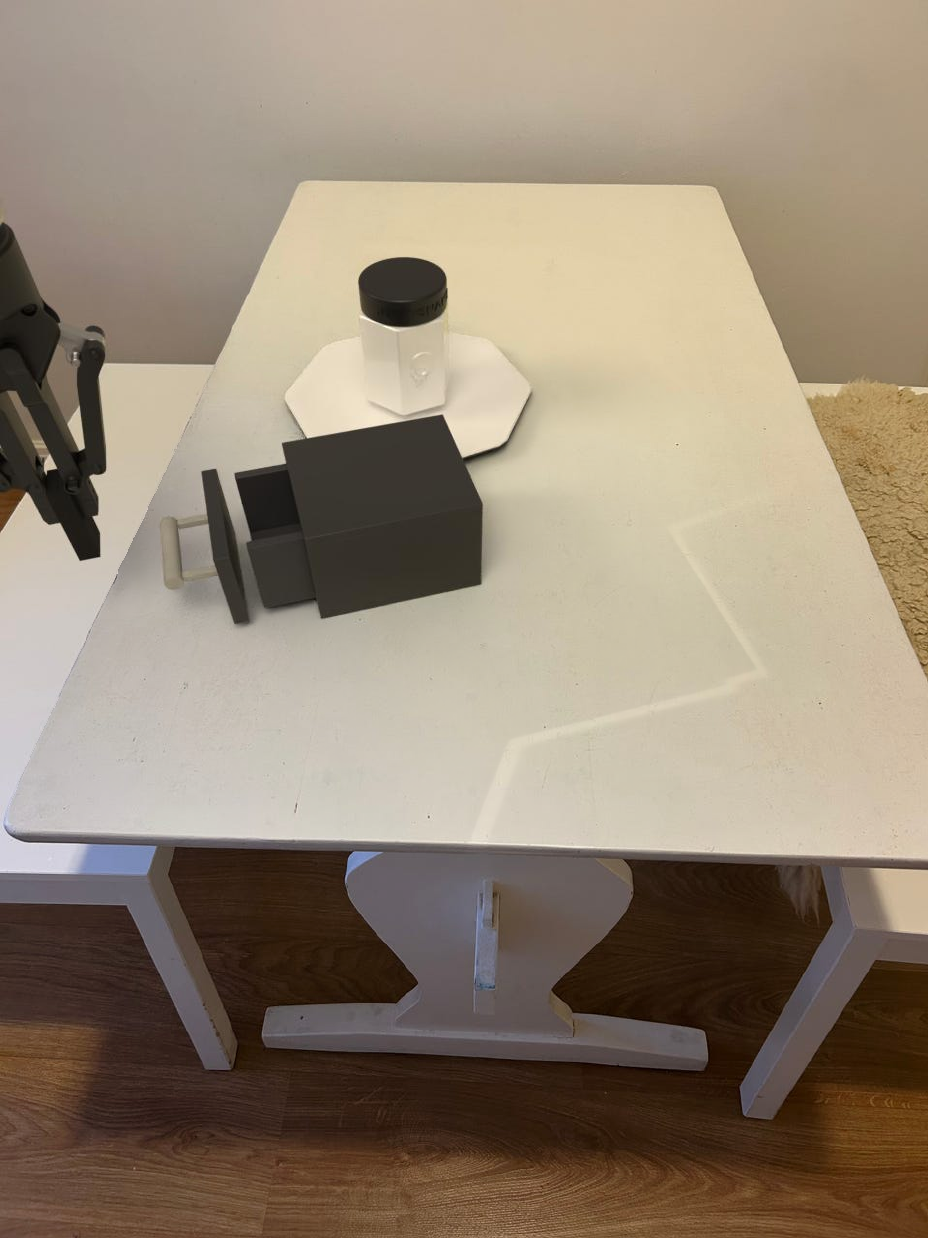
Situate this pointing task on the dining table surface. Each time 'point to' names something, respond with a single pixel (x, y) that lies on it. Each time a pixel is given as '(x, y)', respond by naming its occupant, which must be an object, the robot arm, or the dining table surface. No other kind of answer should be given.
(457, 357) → the plate
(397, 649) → the dining table surface
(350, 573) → the dark grey box
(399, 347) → the jar
